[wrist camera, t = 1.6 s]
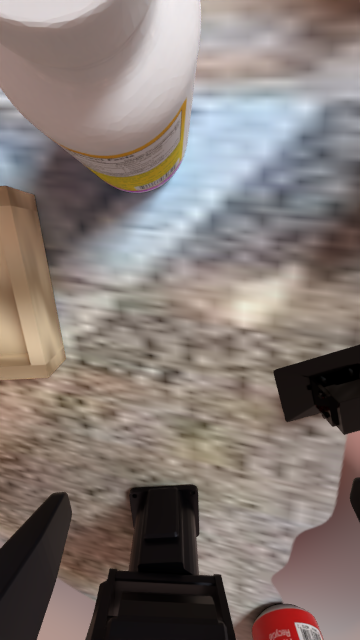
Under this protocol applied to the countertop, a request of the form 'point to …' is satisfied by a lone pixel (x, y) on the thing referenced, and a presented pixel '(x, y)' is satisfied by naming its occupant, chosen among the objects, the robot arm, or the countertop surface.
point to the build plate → (323, 389)
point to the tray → (25, 293)
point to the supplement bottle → (105, 81)
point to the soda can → (286, 624)
